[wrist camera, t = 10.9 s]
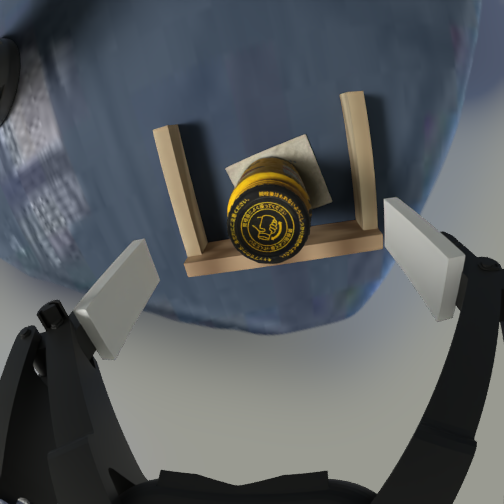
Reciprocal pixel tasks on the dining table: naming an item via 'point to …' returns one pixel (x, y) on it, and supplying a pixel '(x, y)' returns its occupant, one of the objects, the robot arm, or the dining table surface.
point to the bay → (321, 236)
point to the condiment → (275, 201)
